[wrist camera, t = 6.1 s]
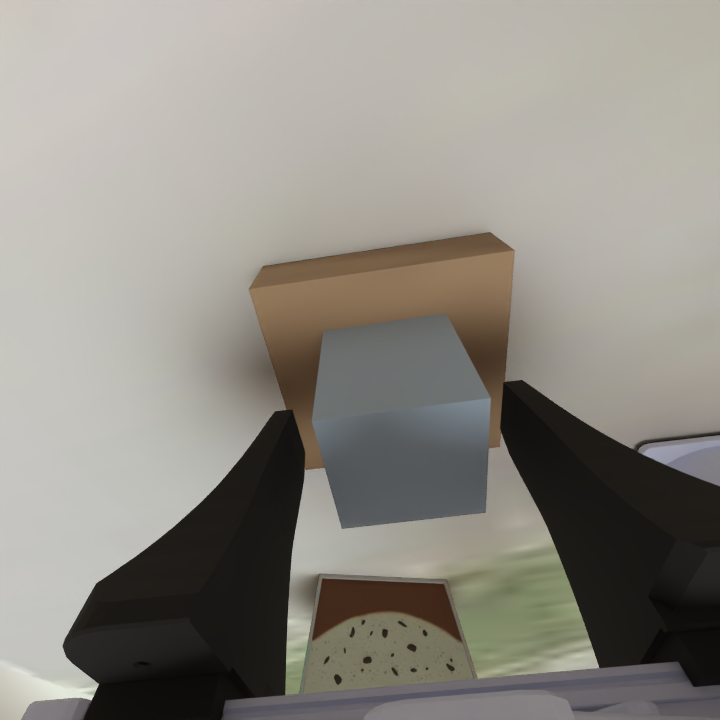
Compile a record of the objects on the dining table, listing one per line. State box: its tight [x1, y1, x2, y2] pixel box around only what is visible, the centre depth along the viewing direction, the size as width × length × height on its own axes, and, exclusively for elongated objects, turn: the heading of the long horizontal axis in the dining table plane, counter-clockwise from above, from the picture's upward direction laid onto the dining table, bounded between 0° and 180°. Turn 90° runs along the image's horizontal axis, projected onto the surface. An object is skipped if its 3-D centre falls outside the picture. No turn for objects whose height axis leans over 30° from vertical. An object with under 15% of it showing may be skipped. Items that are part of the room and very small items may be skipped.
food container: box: [299, 574, 478, 694], centre depth 25 cm, size 12×6×10 cm, turn 83°
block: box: [312, 313, 491, 529], centre depth 13 cm, size 4×4×5 cm
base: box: [249, 233, 515, 470], centre depth 16 cm, size 9×9×2 cm
